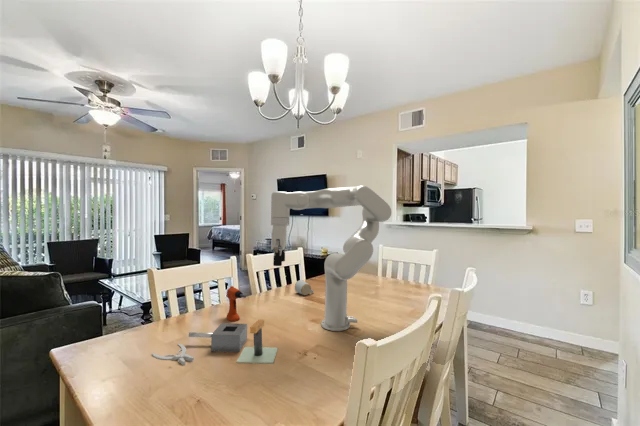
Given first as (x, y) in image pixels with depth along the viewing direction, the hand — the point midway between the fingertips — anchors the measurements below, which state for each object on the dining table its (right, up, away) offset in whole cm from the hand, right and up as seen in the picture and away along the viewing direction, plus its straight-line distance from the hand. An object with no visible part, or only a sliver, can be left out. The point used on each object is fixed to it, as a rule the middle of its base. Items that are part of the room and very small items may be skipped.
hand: (279, 263), depth 117 cm
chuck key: (-5, -28, -19) cm, 34 cm away
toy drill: (-21, -28, +10) cm, 36 cm away
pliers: (-32, -29, -20) cm, 47 cm away
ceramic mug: (+7, -28, +55) cm, 62 cm away
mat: (-5, -28, -19) cm, 34 cm away
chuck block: (-22, -28, -12) cm, 37 cm away
